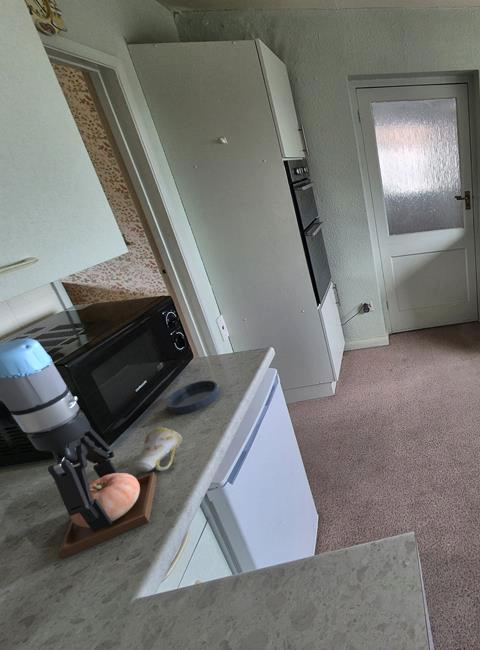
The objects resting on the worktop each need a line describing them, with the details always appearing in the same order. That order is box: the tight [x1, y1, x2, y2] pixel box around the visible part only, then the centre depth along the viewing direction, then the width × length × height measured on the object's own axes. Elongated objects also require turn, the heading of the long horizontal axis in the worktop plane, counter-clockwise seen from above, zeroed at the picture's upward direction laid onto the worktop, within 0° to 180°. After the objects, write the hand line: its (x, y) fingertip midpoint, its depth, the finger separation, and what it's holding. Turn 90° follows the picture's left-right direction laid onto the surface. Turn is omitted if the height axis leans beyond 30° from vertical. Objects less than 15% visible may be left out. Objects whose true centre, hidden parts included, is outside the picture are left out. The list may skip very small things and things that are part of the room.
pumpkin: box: [69, 472, 140, 528], centre depth 77 cm, size 11×11×8 cm
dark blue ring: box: [165, 379, 221, 415], centre depth 114 cm, size 13×13×2 cm
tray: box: [57, 471, 158, 559], centre depth 78 cm, size 13×13×2 cm
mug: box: [134, 427, 183, 473], centre depth 92 cm, size 8×10×10 cm
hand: (109, 505), depth 78 cm, fingers closed on pumpkin, 11 cm apart
